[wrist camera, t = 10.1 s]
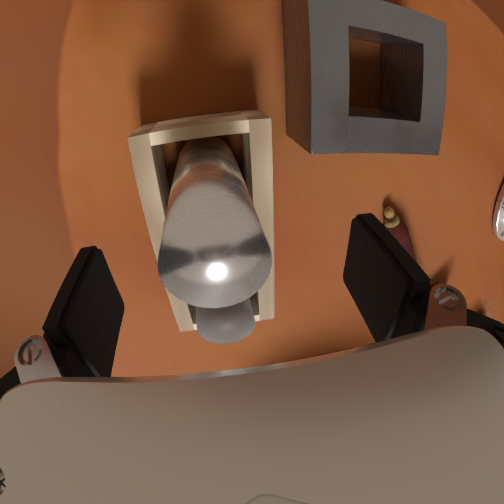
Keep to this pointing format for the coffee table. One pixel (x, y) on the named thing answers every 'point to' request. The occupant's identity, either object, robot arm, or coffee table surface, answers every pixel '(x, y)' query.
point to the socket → (337, 77)
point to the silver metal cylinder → (211, 230)
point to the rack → (260, 190)
